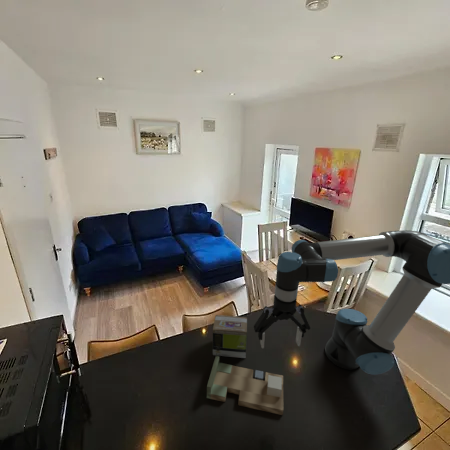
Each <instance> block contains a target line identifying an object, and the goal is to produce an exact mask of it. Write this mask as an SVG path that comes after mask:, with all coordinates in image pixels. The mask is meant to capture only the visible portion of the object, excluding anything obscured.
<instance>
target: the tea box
mask: <svg viewBox="0 0 450 450" xmlns="http://www.w3.org/2000/svg"><path fill="white" fill-rule="evenodd" d="M247 336H248V317H245V316H232V315H221V314H220V315H218V314H215V316H214V322H213V326H212V355H213V356H219V357H221V356H222V357H230V358H241V359H246V355H247V342H248V341H247V339H248V338H247Z"/></svg>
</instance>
